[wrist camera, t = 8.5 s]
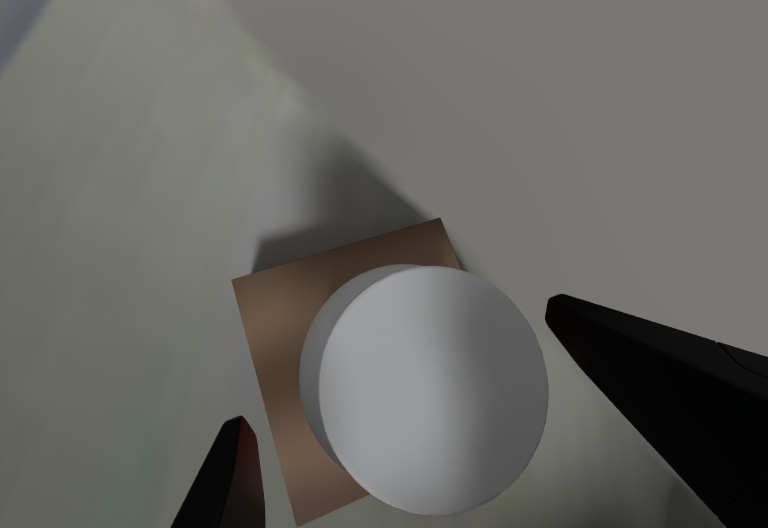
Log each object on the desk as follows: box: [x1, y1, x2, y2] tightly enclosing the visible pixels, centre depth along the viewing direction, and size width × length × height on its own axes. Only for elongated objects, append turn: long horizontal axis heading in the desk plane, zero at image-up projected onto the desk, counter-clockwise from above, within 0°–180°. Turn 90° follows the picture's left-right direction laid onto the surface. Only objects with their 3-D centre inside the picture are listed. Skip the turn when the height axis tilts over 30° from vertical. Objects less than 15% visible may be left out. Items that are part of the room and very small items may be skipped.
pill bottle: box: [299, 264, 548, 515], centre depth 12 cm, size 6×6×11 cm
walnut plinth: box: [232, 218, 461, 527], centre depth 19 cm, size 12×12×3 cm
